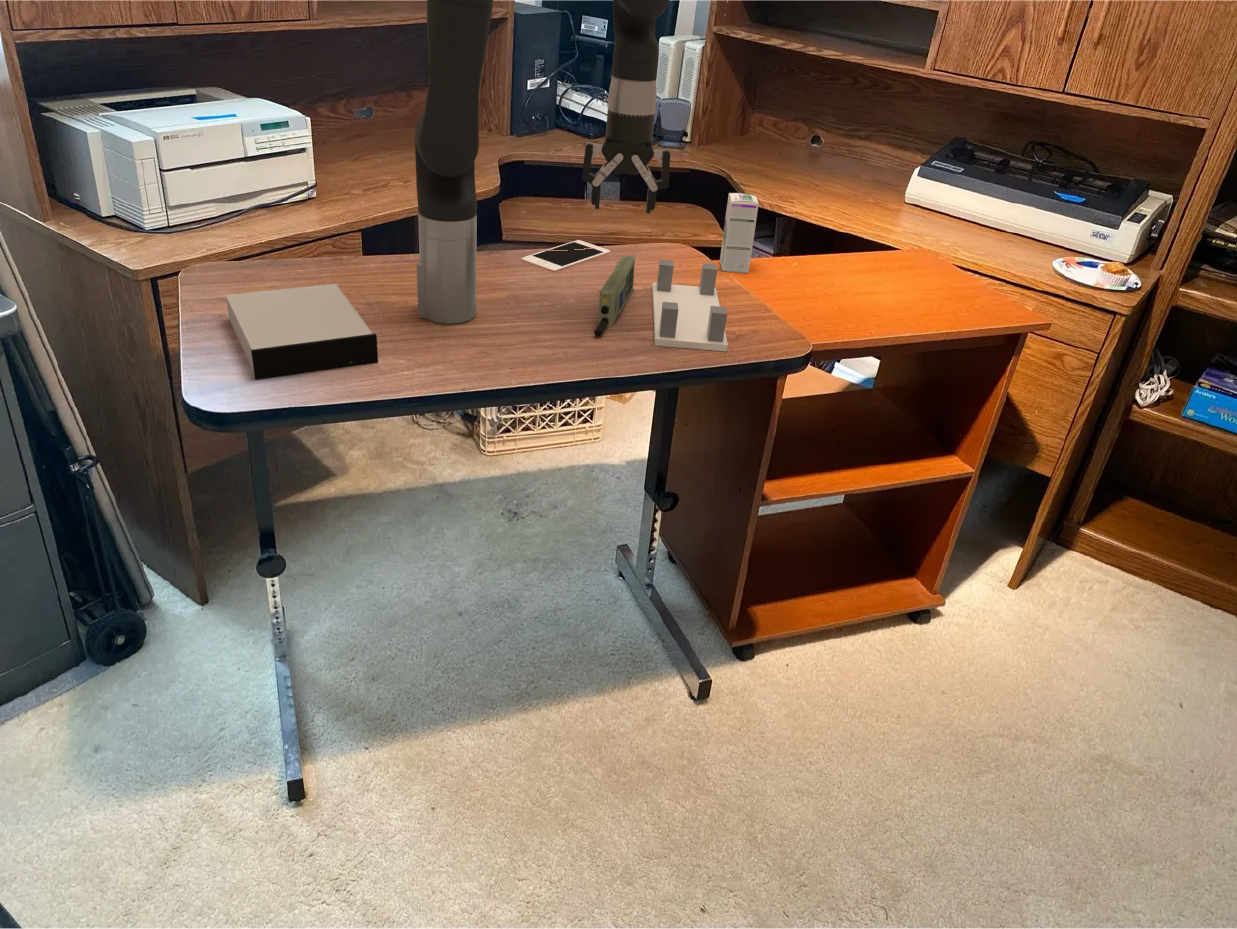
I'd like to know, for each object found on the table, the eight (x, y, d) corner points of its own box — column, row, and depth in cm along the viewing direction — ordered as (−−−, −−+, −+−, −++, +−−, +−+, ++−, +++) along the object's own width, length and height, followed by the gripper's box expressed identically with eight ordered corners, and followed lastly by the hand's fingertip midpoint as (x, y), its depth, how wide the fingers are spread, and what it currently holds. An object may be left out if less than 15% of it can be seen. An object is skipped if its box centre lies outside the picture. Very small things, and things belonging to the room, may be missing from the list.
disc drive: (256, 383, 131) (251, 351, 129) (228, 322, 148) (223, 293, 145) (378, 366, 139) (377, 335, 137) (339, 310, 156) (337, 282, 153)
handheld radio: (635, 290, 174) (607, 342, 153) (618, 289, 175) (588, 339, 154) (637, 256, 171) (609, 303, 150) (620, 254, 171) (589, 301, 150)
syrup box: (749, 273, 187) (761, 202, 179) (720, 271, 187) (730, 199, 179) (746, 264, 192) (757, 194, 184) (717, 261, 192) (728, 191, 184)
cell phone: (520, 262, 182) (520, 257, 182) (578, 243, 195) (578, 239, 195) (554, 274, 178) (554, 270, 178) (611, 254, 191) (611, 250, 190)
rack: (654, 345, 153) (658, 310, 150) (652, 288, 175) (655, 257, 172) (726, 351, 153) (732, 316, 150) (714, 294, 175) (719, 262, 172)
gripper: (585, 108, 142) (579, 212, 151) (677, 117, 143) (665, 220, 151) (587, 99, 149) (581, 200, 157) (675, 107, 149) (664, 207, 158)
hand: (622, 209), depth 154 cm, fingers open, 8 cm apart
